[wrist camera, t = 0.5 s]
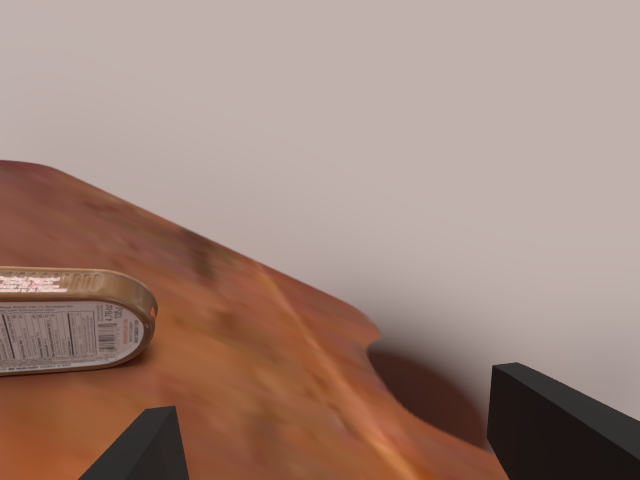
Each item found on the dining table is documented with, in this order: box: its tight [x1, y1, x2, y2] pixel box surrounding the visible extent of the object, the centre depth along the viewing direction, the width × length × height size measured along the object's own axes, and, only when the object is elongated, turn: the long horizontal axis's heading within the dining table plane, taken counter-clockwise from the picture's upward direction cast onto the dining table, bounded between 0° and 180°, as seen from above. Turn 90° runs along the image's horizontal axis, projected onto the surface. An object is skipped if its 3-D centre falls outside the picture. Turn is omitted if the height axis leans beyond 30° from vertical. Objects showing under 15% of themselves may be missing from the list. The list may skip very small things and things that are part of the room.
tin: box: [0, 266, 158, 376], centre depth 25 cm, size 15×3×8 cm, turn 109°
